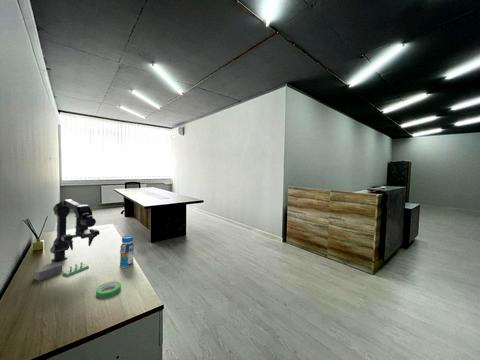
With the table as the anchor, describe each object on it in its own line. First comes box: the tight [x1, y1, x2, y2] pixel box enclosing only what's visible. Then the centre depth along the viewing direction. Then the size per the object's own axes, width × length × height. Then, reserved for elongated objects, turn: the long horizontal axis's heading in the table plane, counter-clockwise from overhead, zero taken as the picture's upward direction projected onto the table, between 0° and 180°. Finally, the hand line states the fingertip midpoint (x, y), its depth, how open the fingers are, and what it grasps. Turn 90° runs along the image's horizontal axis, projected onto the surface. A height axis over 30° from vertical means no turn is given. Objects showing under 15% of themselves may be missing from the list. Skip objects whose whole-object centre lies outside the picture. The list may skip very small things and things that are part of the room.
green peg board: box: [61, 261, 90, 277], centre depth 124 cm, size 5×12×4 cm, turn 160°
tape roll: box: [95, 280, 122, 299], centre depth 105 cm, size 11×11×3 cm
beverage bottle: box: [119, 235, 135, 269], centre depth 135 cm, size 8×8×20 cm
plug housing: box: [33, 262, 63, 282], centre depth 117 cm, size 5×11×5 cm, turn 160°
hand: (80, 248), depth 126 cm, fingers open, 9 cm apart
